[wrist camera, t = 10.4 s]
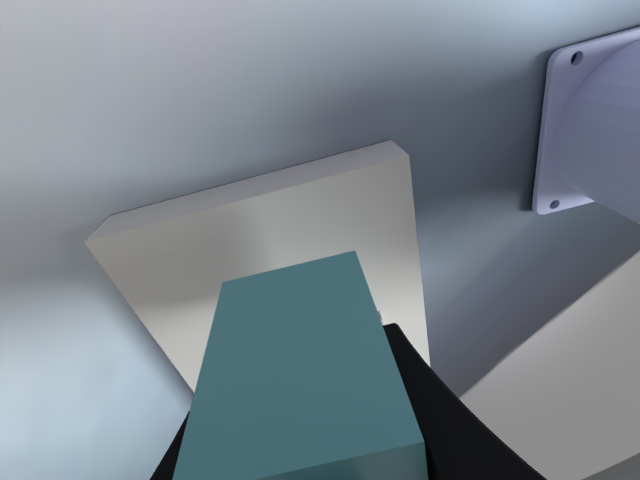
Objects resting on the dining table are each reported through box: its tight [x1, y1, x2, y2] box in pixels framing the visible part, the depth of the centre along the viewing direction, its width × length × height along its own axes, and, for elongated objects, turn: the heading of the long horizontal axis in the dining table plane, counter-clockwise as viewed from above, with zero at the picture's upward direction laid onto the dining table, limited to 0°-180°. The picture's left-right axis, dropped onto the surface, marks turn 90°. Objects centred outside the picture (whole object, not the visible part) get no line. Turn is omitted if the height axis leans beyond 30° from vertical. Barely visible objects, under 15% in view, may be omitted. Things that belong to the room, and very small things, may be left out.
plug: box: [172, 250, 428, 480], centre depth 9 cm, size 4×4×7 cm
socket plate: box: [83, 140, 430, 393], centre depth 21 cm, size 14×24×3 cm, turn 14°
